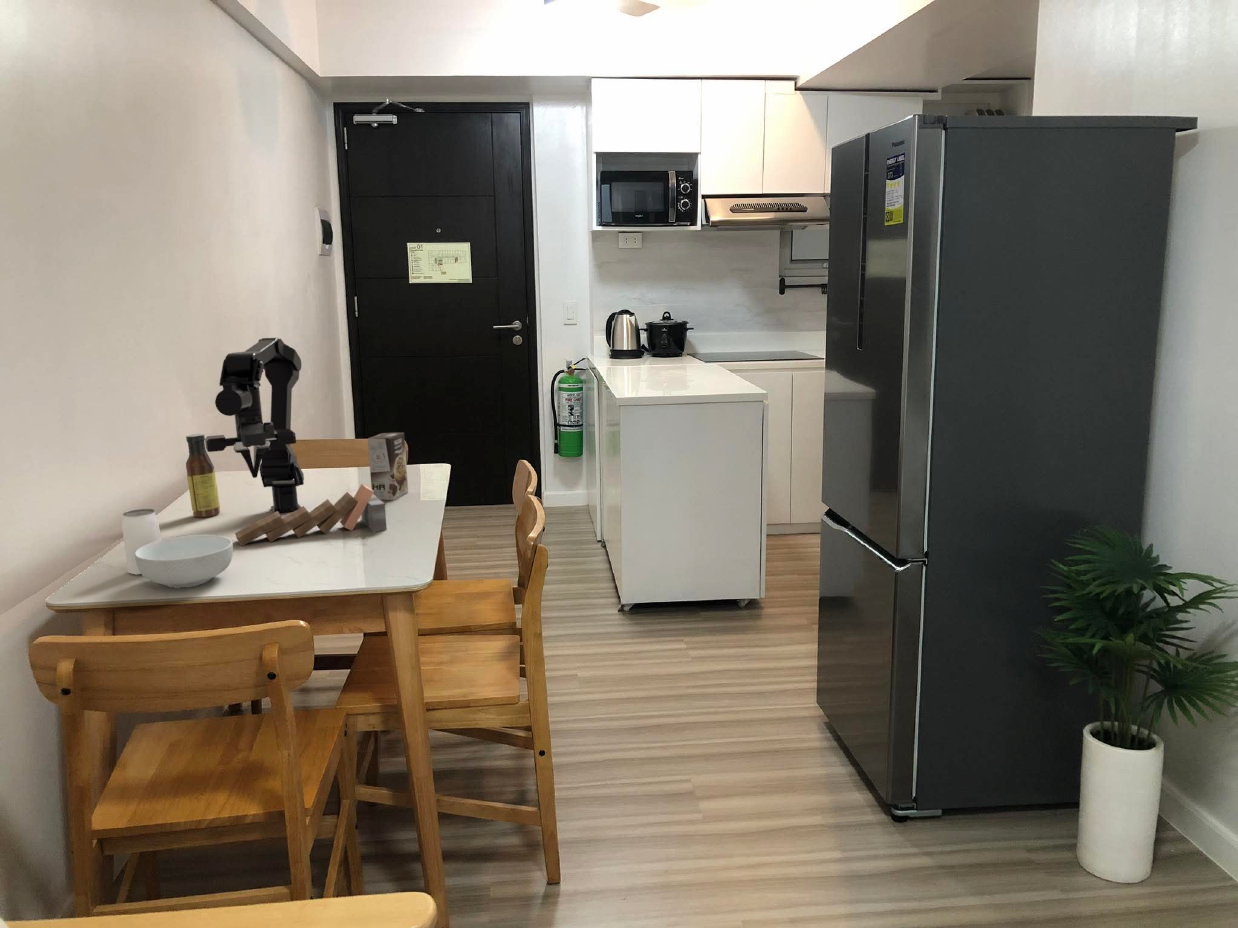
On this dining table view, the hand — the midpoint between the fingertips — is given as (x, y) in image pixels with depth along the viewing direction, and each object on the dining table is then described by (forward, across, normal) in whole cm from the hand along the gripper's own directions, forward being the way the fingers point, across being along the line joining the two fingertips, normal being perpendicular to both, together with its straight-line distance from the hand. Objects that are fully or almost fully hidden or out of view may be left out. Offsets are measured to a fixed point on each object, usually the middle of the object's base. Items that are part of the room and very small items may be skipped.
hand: (254, 477), depth 218 cm
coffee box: (+12, +34, +16) cm, 40 cm away
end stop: (+12, +24, -11) cm, 29 cm away
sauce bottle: (+12, -10, +21) cm, 26 cm away
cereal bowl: (+12, -17, -34) cm, 40 cm away
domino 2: (+11, 0, -11) cm, 16 cm away
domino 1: (+11, -6, -11) cm, 17 cm away
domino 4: (+11, +12, -11) cm, 20 cm away
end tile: (+11, +17, -11) cm, 23 cm away
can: (+12, -24, -22) cm, 35 cm away
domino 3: (+11, +6, -11) cm, 17 cm away
